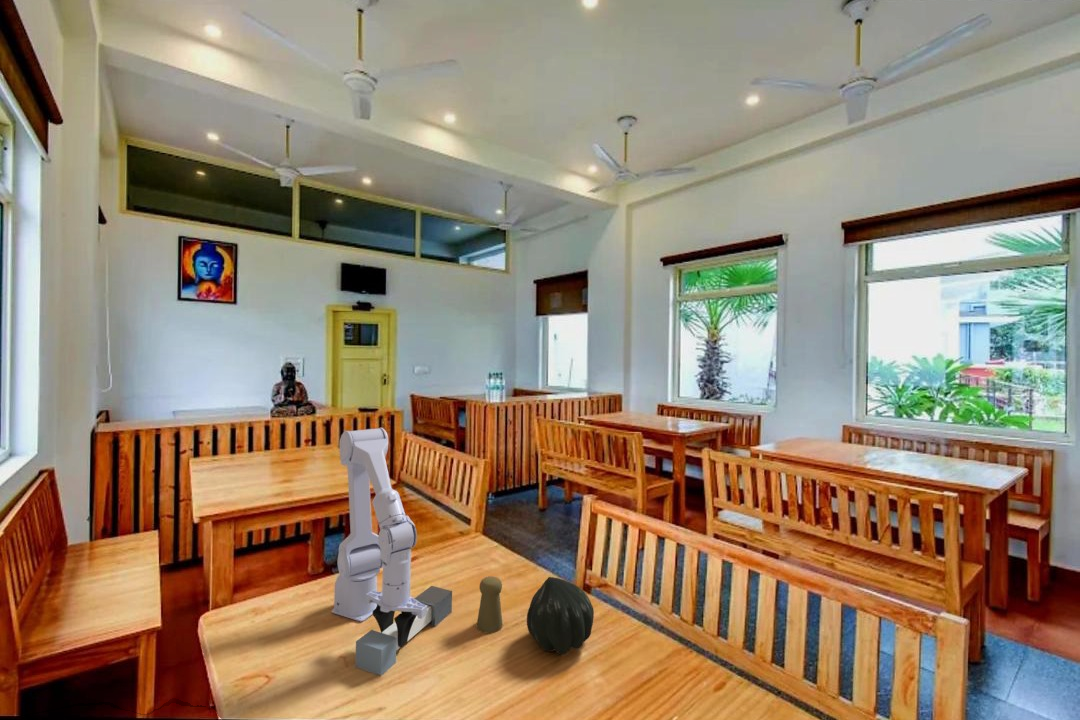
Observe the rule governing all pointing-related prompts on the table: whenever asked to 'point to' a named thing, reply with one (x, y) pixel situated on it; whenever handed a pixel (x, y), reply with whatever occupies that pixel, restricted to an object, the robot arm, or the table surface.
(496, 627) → the olive game pawn
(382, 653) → the socket
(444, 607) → the metal block
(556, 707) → the table surface
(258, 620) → the table surface
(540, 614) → the squash
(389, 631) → the long white plank
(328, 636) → the table surface
